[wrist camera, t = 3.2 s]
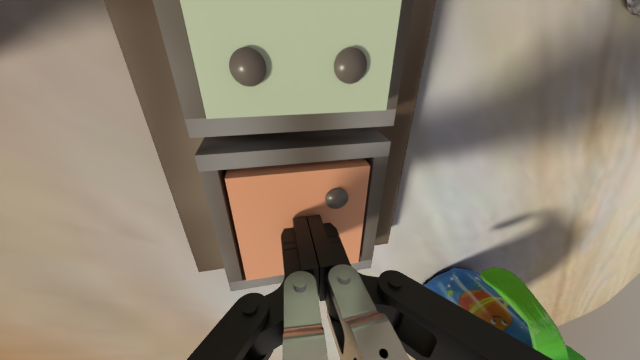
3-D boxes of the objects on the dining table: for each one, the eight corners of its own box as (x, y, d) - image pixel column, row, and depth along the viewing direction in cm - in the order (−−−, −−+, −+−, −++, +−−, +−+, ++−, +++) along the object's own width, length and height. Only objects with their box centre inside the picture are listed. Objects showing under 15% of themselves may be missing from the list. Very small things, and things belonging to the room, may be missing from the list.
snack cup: (460, 322, 32) (532, 425, 24) (386, 336, 30) (436, 455, 22) (514, 230, 25) (649, 334, 16) (421, 239, 23) (520, 365, 14)
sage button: (215, 105, 11) (205, 120, 9) (165, -141, 7) (131, -202, 5) (368, 99, 12) (388, 111, 10) (390, -113, 8) (426, -155, 7)
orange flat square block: (247, 255, 16) (246, 283, 15) (229, 160, 13) (224, 181, 11) (349, 240, 18) (359, 264, 16) (357, 150, 14) (371, 167, 12)
